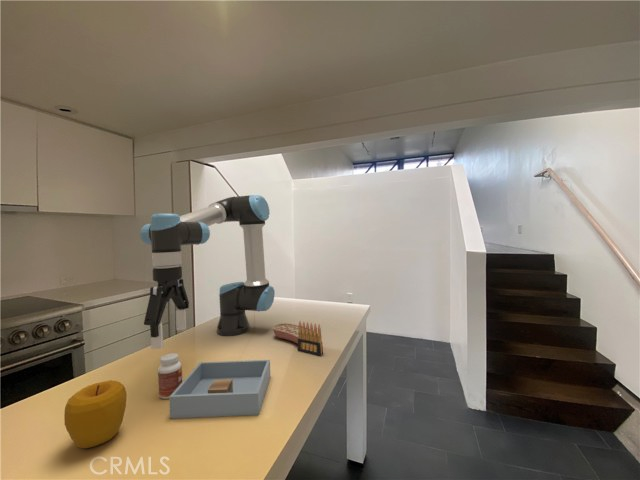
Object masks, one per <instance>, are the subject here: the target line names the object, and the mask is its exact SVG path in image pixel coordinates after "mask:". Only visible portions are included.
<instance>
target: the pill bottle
mask: <svg viewBox="0 0 640 480" xmlns="http://www.w3.org/2000/svg"><path fill="white" fill-rule="evenodd" d="M179 359H180V358H179V353H176V352H175V353H174V352H173V353H167V354H164V355H162V356H161V357H160V359H159V360H160V365H159V366H158V368H157V377H158V378H157V379H158V396H159V397H160V398H161V399H163V400H165V399H166V400H167V399H168V400H169V397H170V395H171V394H172V393H173V392H174V391H175V390H176V389H177V388H178V387H179V385H180V384H181V383H182V382H183V368H182V367H183V366H182V365H183V364H182V362H181V361H179Z"/></svg>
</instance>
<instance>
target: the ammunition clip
mask: <svg viewBox="0 0 640 480" xmlns="http://www.w3.org/2000/svg"><path fill="white" fill-rule="evenodd" d="M298 326H299V330H298V344H297V352H299V353H303V354H304V353H305V354H308V355H312V356H316V357H322V356H323V355H324V347H323V341H322V339H323V337H322V329H321V325H320V323H319V324H318V325H317V324H316V323H314V325H313V323H312V322H310V324H309V322H308V321H307V322H306V323H305V321H303V322H302V321H301V320H299V321H298ZM305 328H306V329H305ZM309 329H310V331H309ZM313 331H314V333H313Z"/></svg>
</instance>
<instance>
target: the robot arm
mask: <svg viewBox="0 0 640 480" xmlns="http://www.w3.org/2000/svg"><path fill="white" fill-rule="evenodd" d="M269 217H270V207H269V204H268V201H267V200H266V198H265V197H264V196H263V195H260V194H250V195H241V196H237V195H236V196H230V197H226V198H224V199H221V200H217V201H215V202H212V203H210V204H209V205H208V206H207V207H204V208H200V209H198V210H197V209H196V210H194V211H192V212H189V213H185V214H183V215H182V214H181V215H179V214H177V213H154V214H152V215H151V216H150V223H147V224H145V225H143V226H142V227H141V229H140V234H139V235H140V238H141V241H142V242H143V243H144V244H145V245H148V246H151V253H152V254H151V260H152V262H151V263H152V265H151V266H152V267H154V268H152V280H153V282H156V283H157V286H151V287H149V288H150V289H149V299H148V302H147V303H148V304H147V307H146V308H147V309H146V311H145V317H144V321H143V324H144V326H149V327H150V349H163V348H164V338H163V335H164V334H163V323H161V321H162V318H163V315H164V311H165V309H166V306H167V303H168V302H170V300H171V301H172V302H173V304H174V305H175V307H176V308H177V309H175V322H176V323H175V324H176V331H187V315H186V314H187V313H186V309H189V307H190V300H189V298H188V295H187V292H186V289H185V286H184V285H185V284H184V279H183V268H182V266H181V265H182V264H183V262H182V260H183V259H182V246H188V245H189V246H190V245H191V246H193V245H197V246H198V245H201V244H205V243H207V242H208V241H209V239H210V235H211V230H210V228H209V227H210V226H212V225H216V224H217V225H219V224H223V223H228V222H233V223H234V222H239V227H241V228H242V232H243V233H242V234H243V243H244V244H243V246H244V260H245V271H246V274H245V275H246V280H245V281H237V282H231V283H227V284H223V285H221V286H220V287H219V293H218V296H219V311H220V312H219V313H220V314H219V315H220V316H219V320H218V323H217V326H216V334H217V335H219V336H224V337H228V336H229V337H230V336H238V335H242V334H244V333H246V332H248V331H249V330H250V322H249V320H248V316H247V314H246V311H250V312H252V311H253V312H266V311H268V310H270V308H271V307H272V306H273V303H274V301H275V300H274V299H275V295H276V294H275V293H276V292H275V289H274V287H273V286H272V285H270V281H269V279H267V278H266V267H265V266H266V265H265V250H264V238H263V235H264V234H263V227H264V226H265V225H266V221H267V220H269Z"/></svg>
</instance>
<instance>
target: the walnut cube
mask: <svg viewBox="0 0 640 480" xmlns="http://www.w3.org/2000/svg"><path fill="white" fill-rule="evenodd" d="M210 393H233V380H232V379H225V380H214V382H213V383H212V385H211V386H210V388H209V389H208V394H210Z"/></svg>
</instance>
